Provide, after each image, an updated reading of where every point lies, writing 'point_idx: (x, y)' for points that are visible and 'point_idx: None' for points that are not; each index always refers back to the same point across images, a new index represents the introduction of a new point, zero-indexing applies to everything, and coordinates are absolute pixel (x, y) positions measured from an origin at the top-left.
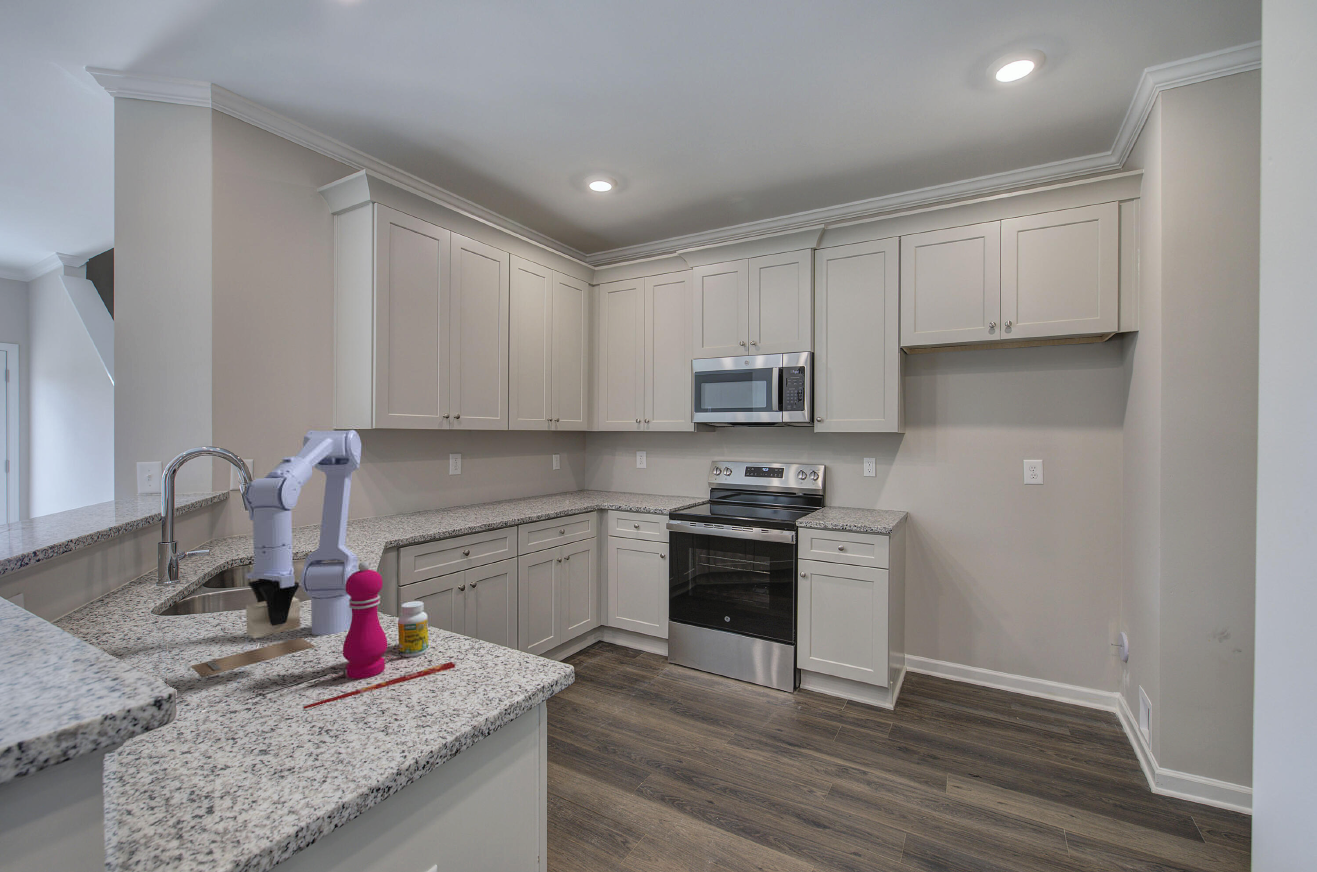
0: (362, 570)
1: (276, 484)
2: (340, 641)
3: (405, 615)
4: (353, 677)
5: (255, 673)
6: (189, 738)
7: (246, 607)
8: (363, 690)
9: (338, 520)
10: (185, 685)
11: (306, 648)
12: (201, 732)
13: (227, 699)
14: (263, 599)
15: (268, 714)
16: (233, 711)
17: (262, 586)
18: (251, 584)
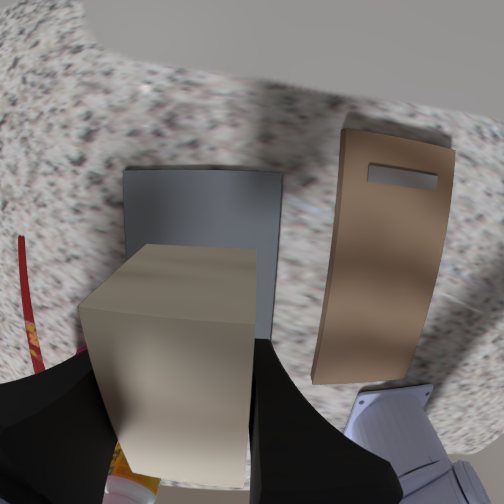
0: None
1: None
2: (328, 418)
3: (116, 491)
4: (82, 348)
5: (299, 241)
6: (48, 63)
7: (254, 313)
8: (26, 324)
9: None
10: (368, 104)
11: (319, 368)
12: (52, 79)
13: (168, 138)
14: (255, 420)
15: (33, 183)
16: (90, 135)
17: (3, 453)
18: (275, 496)
